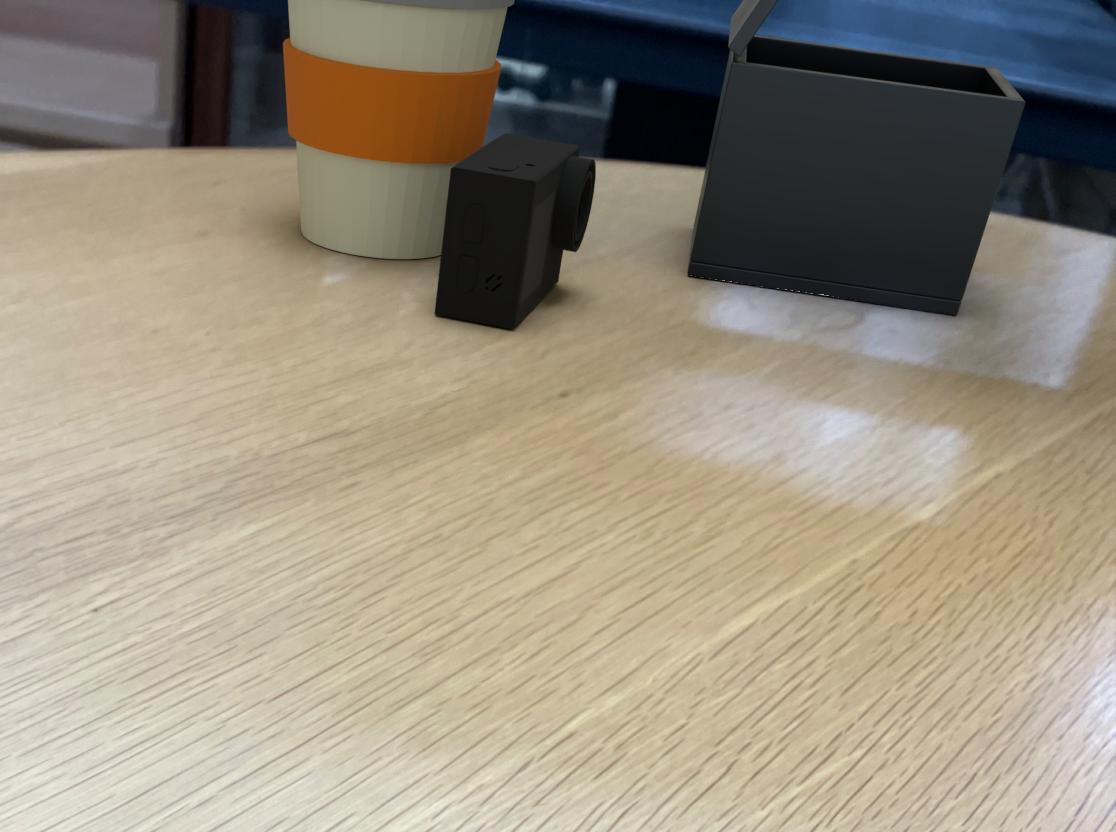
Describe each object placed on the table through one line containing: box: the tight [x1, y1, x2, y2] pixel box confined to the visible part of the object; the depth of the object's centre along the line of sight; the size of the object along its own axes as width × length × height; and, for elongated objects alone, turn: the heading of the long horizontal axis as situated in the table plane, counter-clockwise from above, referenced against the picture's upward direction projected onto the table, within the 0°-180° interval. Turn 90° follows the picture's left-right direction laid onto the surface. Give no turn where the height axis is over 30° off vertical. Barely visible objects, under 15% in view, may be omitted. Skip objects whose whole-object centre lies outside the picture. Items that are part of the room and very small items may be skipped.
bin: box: [686, 34, 1026, 316], centre depth 89 cm, size 16×13×11 cm
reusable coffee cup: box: [282, 0, 515, 260], centre depth 84 cm, size 13×13×15 cm
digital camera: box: [434, 133, 597, 330], centre depth 79 cm, size 10×5×7 cm, turn 161°
